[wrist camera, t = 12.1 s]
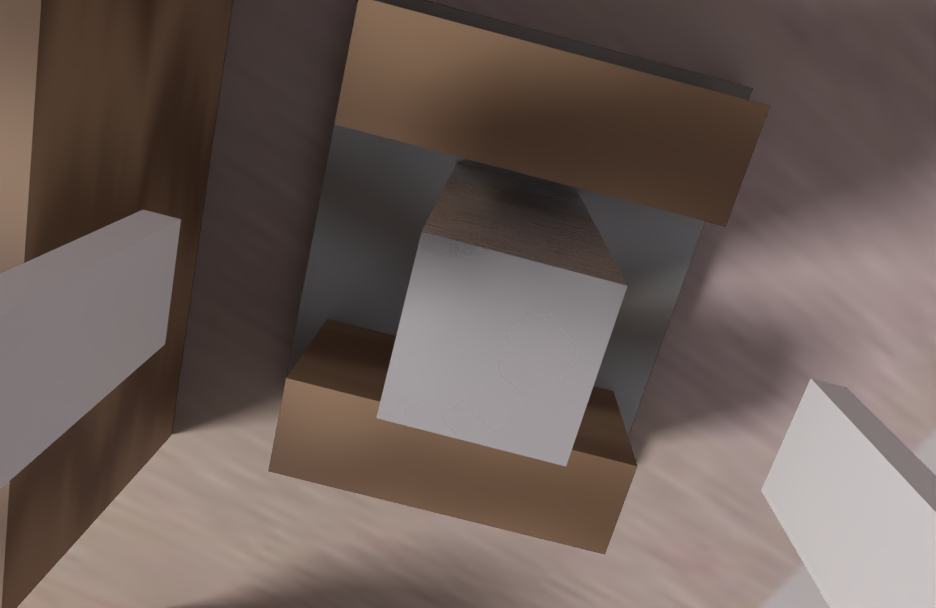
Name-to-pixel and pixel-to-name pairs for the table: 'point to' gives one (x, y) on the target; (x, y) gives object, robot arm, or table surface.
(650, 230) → the wooden prong rack
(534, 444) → the grey rectangular block
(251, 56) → the table surface
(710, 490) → the table surface
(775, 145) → the table surface
